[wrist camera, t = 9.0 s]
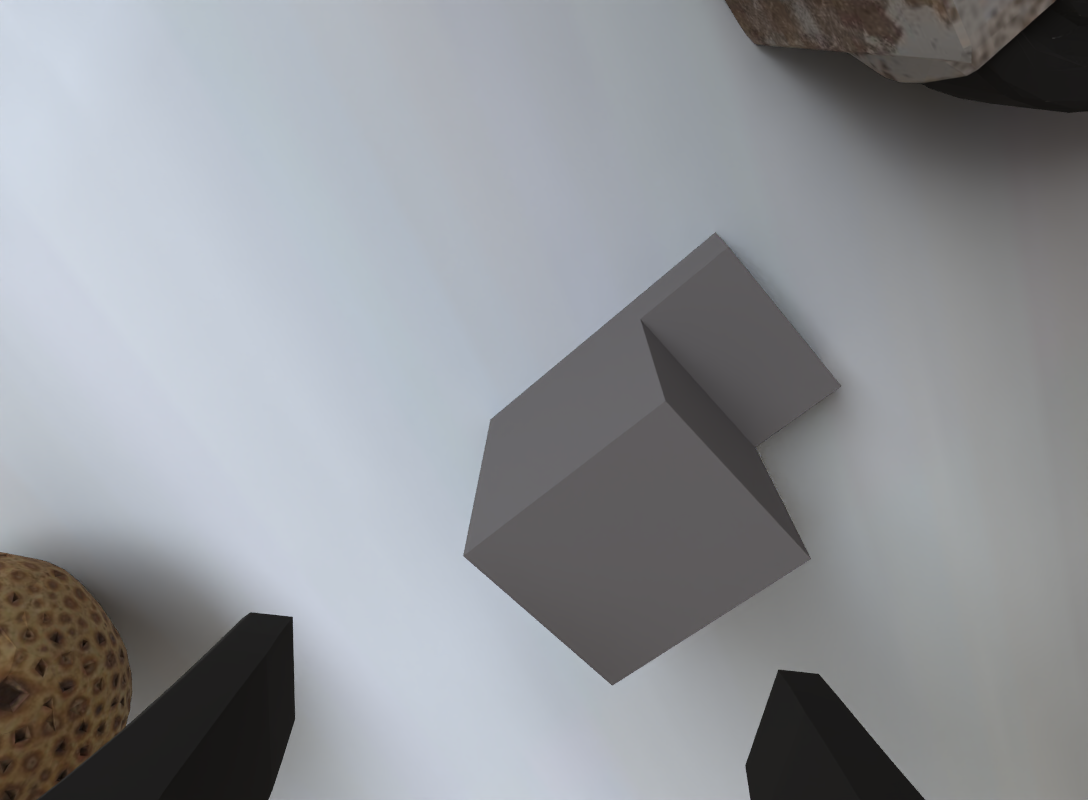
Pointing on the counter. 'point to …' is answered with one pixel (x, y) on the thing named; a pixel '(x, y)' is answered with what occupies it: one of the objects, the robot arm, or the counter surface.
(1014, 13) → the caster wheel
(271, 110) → the counter surface
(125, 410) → the counter surface
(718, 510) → the stepped grey block
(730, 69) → the counter surface
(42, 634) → the natural sponge
